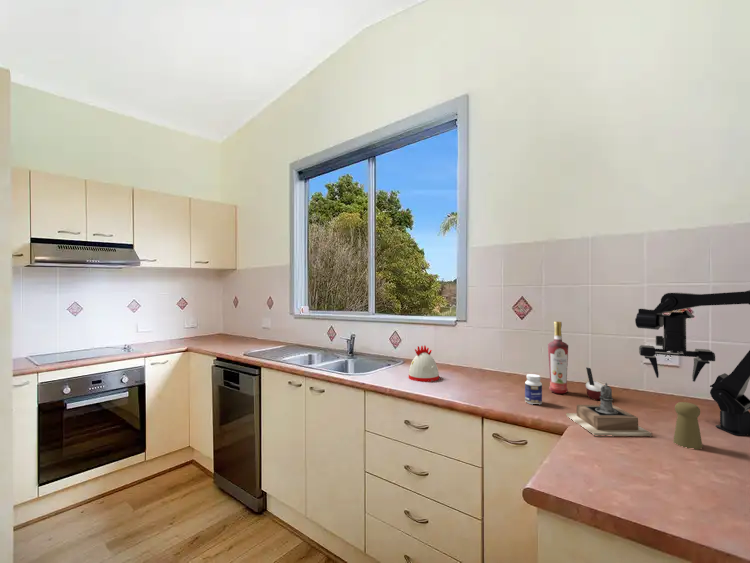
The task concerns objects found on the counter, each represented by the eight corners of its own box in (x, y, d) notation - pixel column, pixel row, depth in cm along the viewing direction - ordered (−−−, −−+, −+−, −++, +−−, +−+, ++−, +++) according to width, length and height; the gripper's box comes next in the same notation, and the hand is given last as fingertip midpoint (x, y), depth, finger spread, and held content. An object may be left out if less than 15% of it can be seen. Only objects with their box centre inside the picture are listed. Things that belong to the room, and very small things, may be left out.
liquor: (550, 394, 145) (549, 322, 146) (546, 389, 153) (545, 320, 153) (571, 395, 144) (570, 322, 144) (566, 390, 151) (565, 321, 151)
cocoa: (600, 396, 143) (600, 365, 144) (612, 401, 137) (612, 368, 138) (577, 396, 142) (577, 365, 143) (589, 401, 136) (589, 368, 137)
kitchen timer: (404, 375, 177) (404, 344, 177) (430, 373, 181) (430, 342, 181) (416, 383, 164) (415, 348, 164) (444, 380, 168) (444, 347, 168)
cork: (673, 437, 104) (673, 398, 104) (702, 443, 100) (701, 402, 100) (673, 445, 99) (672, 403, 99) (703, 451, 96) (702, 408, 96)
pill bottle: (532, 405, 132) (531, 377, 132) (521, 401, 137) (521, 374, 138) (545, 404, 133) (545, 376, 134) (534, 399, 139) (534, 372, 139)
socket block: (651, 436, 105) (651, 420, 105) (594, 436, 105) (593, 420, 105) (616, 416, 121) (616, 402, 121) (566, 416, 121) (566, 402, 121)
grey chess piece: (622, 425, 111) (622, 384, 111) (606, 426, 110) (605, 386, 110) (606, 418, 117) (606, 379, 117) (590, 419, 115) (590, 381, 115)
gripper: (706, 330, 123) (707, 377, 123) (637, 327, 132) (637, 371, 132) (715, 334, 113) (716, 385, 113) (640, 330, 123) (640, 377, 123)
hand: (675, 379), depth 121 cm, fingers open, 9 cm apart
